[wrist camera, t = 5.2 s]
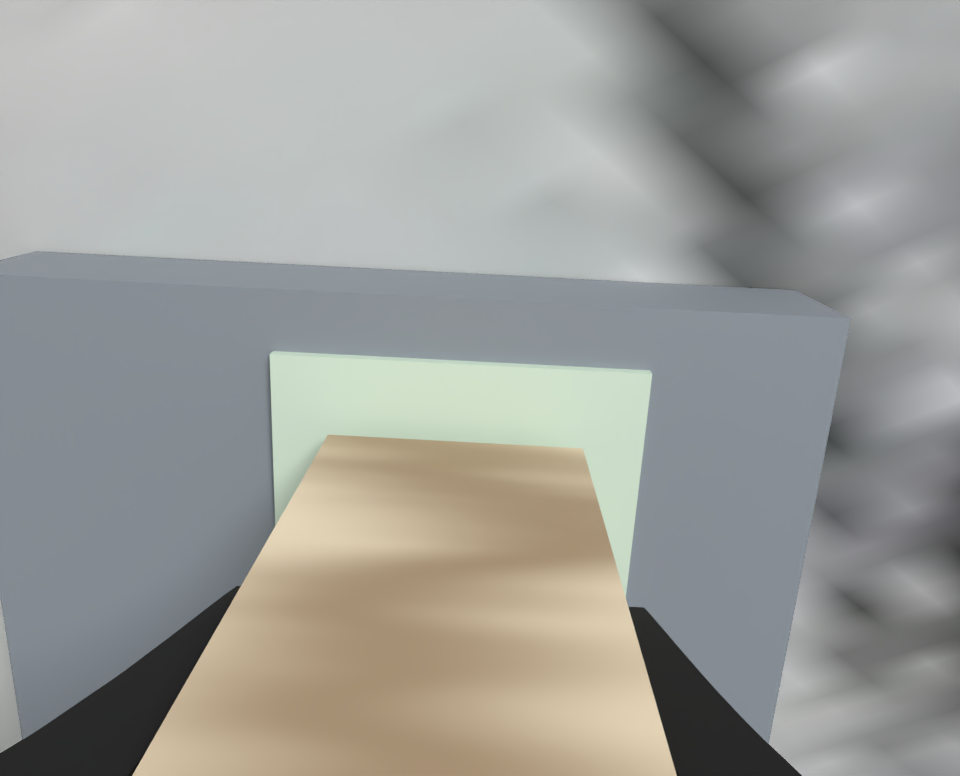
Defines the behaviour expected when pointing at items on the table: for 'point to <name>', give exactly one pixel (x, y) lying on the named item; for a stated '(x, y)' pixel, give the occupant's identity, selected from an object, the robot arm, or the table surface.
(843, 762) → the table surface
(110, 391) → the pocket board
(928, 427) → the table surface
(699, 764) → the robot arm
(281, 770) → the beech block
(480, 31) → the table surface
